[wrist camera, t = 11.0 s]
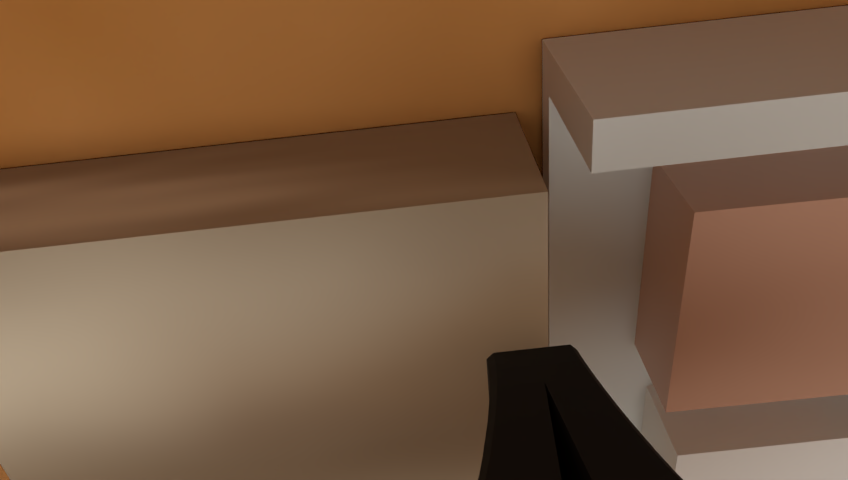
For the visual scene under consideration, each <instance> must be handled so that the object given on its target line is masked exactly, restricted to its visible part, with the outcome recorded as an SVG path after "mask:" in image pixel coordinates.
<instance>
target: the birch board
mask: <svg viewBox="0 0 848 480" xmlns="http://www.w3.org/2000/svg"><path fill="white" fill-rule="evenodd" d="M542 347H548V190H547V188H546V185H545V183H544V180H543V178H542V176H541V173H540V171H539V168H538V166H537V164H536V161H535V159H534V156H533V154H532V152H531V149H530V147H529V144H528V142H527V140H526V137H525V135H524V132H523V130H522V128H521V125H520V123H519V120H518V118H517V116H516V113H506V114H497V115H488V116H479V117H470V118H461V119H452V120H443V121H434V122H425V123H416V124H407V125H398V126H389V127H380V128H370V129H361V130H352V131H343V132H334V133H325V134H316V135H307V136H298V137H289V138H280V139H271V140H262V141H253V142H244V143H235V144H226V145H217V146H208V147H199V148H190V149H181V150H172V151H163V152H154V153H144V154H135V155H126V156H117V157H108V158H99V159H90V160H81V161H72V162H63V163H54V164H45V165H36V166H27V167H18V168H9V169H0V464H1V466H2V467H3V469H4V471H5V472H6V474H7V475H8V477H9V479H10V480H478V477H479V473H480V468H481V463H482V457H483V450H484V443H485V436H486V429H487V422H488V410H489V390H488V375H487V358H488V357H489V356H490V355H492V354H493V353H496V352H505V351H514V350H524V349H533V348H542Z"/></svg>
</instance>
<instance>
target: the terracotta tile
mask: <svg viewBox="0 0 848 480" xmlns="http://www.w3.org/2000/svg"><path fill="white" fill-rule="evenodd" d="M634 344H635V346H636V349H637V351H638V353H639V355H640V357H641V359H642V362H643V364H644V366H645V368H646V370H647V373H648V375H649V377H650V379H651V381H652V384H653V386H654V388H655V390H656V392H657V394H658V397H659V399H660V401H661V403H662V405H663V408H664V410H665V412H676V411H686V410H696V409H706V408H716V407H726V406H736V405H746V404H756V403H767V402H777V401H787V400H797V399H807V398H817V397H827V396H837V395H847V394H848V145H845V146H836V147H827V148H818V149H809V150H800V151H791V152H782V153H773V154H764V155H755V156H746V157H736V158H727V159H718V160H709V161H700V162H691V163H682V164H673V165H664V166H655V167H653V169H652V179H651V188H650V198H649V208H648V217H647V227H646V237H645V246H644V256H643V266H642V276H641V285H640V295H639V305H638V314H637V324H636V334H635V343H634Z"/></svg>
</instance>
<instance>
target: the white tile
mask: <svg viewBox="0 0 848 480" xmlns="http://www.w3.org/2000/svg"><path fill="white" fill-rule="evenodd" d="M641 434H642V435H643V436H644V437H645V438H646V440H647V441H648V442H649V443H650V444H651V445H652V447H653V448H654V449H655V450H656V451H657V452H658V453H659V454H660V456H661V457H662V458H663V459H664V460H665V461H666V462H667V463H668V464H669V465H670V466H671V467H672V469H673V470H674V471H675V472H676V473H677V474H678V475H679V476H680V477H681V478H682V479H683V480H848V394H847V395H837V396H827V397H817V398H807V399H797V400H787V401H777V402H767V403H756V404H746V405H736V406H726V407H716V408H706V409H696V410H686V411H676V412H665V410H664V408H663V405H662V403H661V401H660V399H659V397H658V394H657V392H656V390H655V388H654V386H653V385H648V386H646V394H645V403H644V412H643V421H642V431H641Z"/></svg>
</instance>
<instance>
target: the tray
mask: <svg viewBox="0 0 848 480" xmlns="http://www.w3.org/2000/svg"><path fill="white" fill-rule="evenodd" d="M542 132H543V180H544V183H545V185H546V188H547V190H548V347H551V346H560V345H569V344H570V345H572V346H573V347H574V348H576V349H577V350H578V352H579V354H580V355H581V357H582V358H583V360H584V361H585V362H586V364H587V365H588V367H589V368H590V370H591V371H592V372H593V374H594V375H595V377H596V378H597V379H598V381H599V382H600V383H601V385H602V386H603V387H604V389H605V390H606V391H607V392H608V394H609V395H610V396H611V398H612V399H613V400H614V401H615V403H616V404H617V405H618V406H619V408H620V409H621V410H622V411H623V413H624V414H625V415H626V416H627V417H628V419H629V420H630V421H631V422H632V423H633V425H634V426H635V427H636V428H637V429H638V430H639V432H640V433H641V431H642V421H643V412H644V403H645V394H646V386H648V385H653V384H652V381H651V379H650V377H649V375H648V373H647V370H646V368H645V366H644V364H643V362H642V359H641V357H640V355H639V353H638V351H637V349H636V346H635V344H634V343H635V334H636V324H637V314H638V305H639V295H640V285H641V276H642V266H643V256H644V246H645V237H646V227H647V217H648V208H649V198H650V188H651V179H652V169H653V167H655V166H664V165H673V164H682V163H691V162H700V161H709V160H718V159H727V158H736V157H746V156H755V155H764V154H773V153H782V152H791V151H800V150H809V149H818V148H827V147H836V146H845V145H848V5H846V6H837V7H828V8H819V9H810V10H801V11H792V12H783V13H774V14H765V15H756V16H747V17H738V18H729V19H720V20H711V21H702V22H693V23H684V24H675V25H666V26H657V27H648V28H639V29H630V30H621V31H612V32H603V33H594V34H585V35H576V36H567V37H558V38H549V39H542Z"/></svg>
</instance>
